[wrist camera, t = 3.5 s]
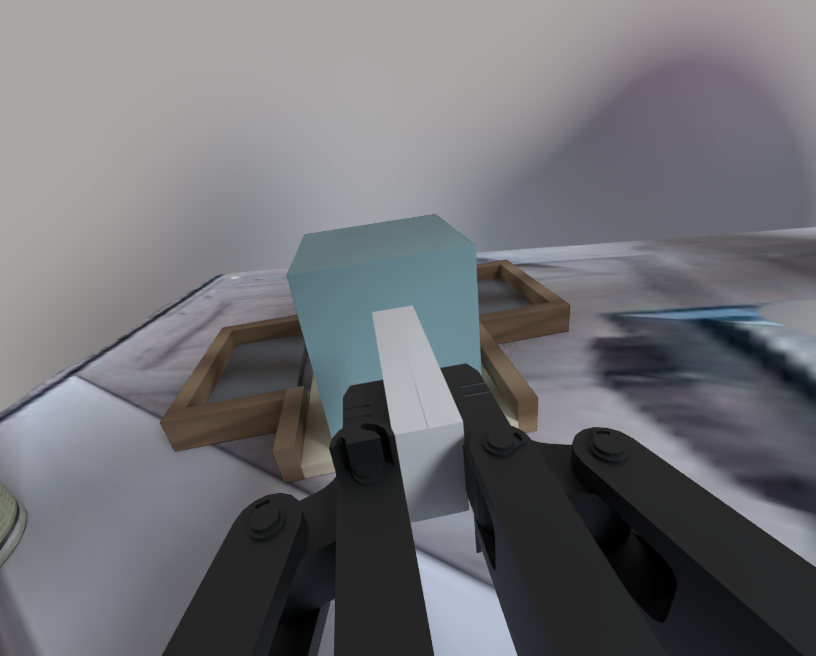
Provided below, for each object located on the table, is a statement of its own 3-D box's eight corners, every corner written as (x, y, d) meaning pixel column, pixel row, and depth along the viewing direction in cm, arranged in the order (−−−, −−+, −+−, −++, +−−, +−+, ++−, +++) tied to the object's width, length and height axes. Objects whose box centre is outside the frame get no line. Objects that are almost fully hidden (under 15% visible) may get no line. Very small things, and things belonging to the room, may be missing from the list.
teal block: (483, 422, 23) (475, 244, 18) (335, 452, 23) (286, 275, 18) (447, 351, 31) (435, 213, 26) (337, 371, 31) (304, 234, 26)
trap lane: (658, 405, 24) (669, 350, 22) (141, 512, 22) (108, 460, 20) (494, 269, 50) (494, 239, 48) (251, 311, 48) (241, 280, 46)
